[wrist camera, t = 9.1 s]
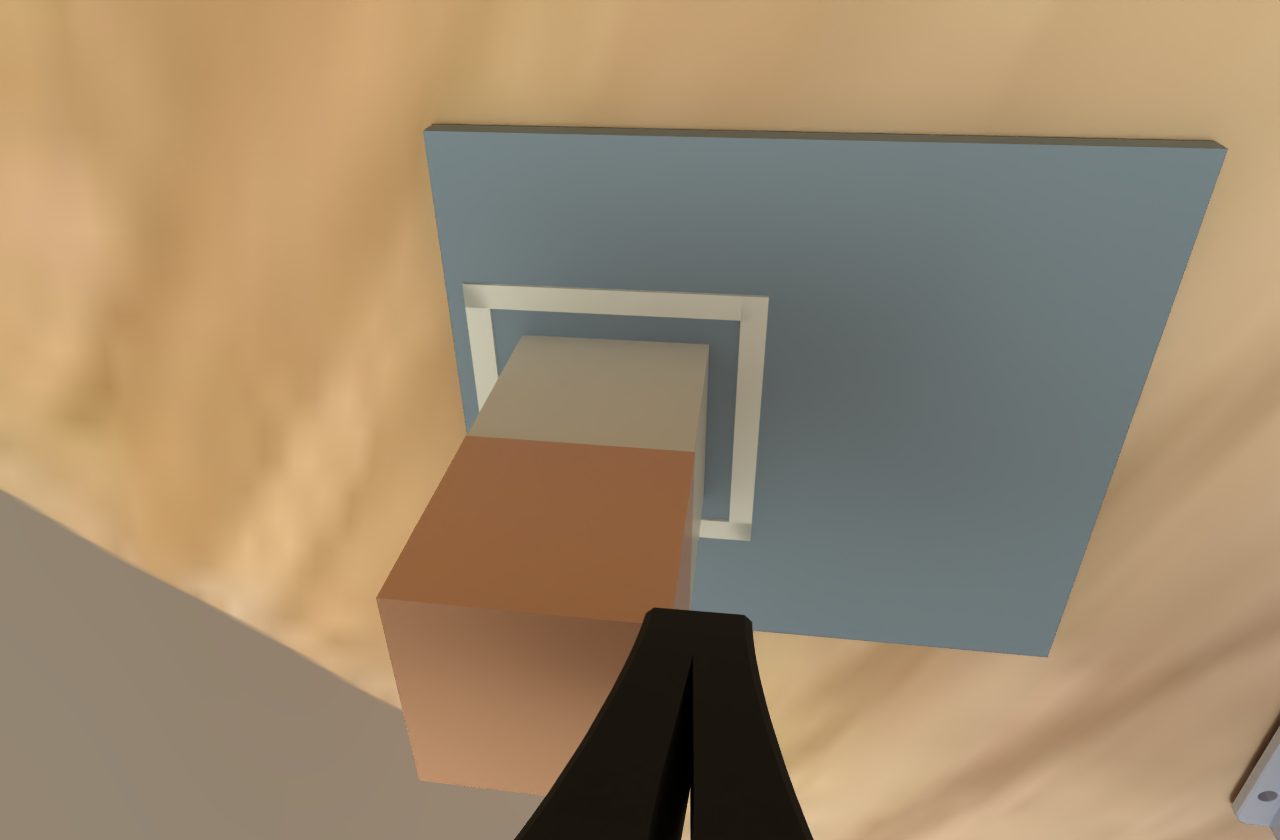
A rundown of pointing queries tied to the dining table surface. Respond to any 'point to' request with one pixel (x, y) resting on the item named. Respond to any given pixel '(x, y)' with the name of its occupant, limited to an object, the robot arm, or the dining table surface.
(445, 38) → the dining table surface
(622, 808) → the robot arm
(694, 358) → the base block
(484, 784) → the top block
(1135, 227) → the board
